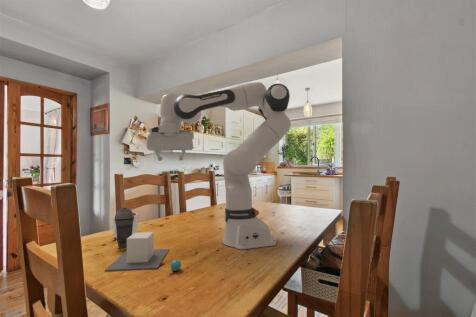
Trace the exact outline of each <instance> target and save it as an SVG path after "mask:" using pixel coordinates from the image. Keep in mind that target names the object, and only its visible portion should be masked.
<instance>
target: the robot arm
mask: <svg viewBox="0 0 476 317" xmlns="http://www.w3.org/2000/svg"><path fill="white" fill-rule="evenodd" d="M289 102H290V90H289V88H288V87H287V86H286V85H284V84H282V83H273V84H271V85H270V86H269V87H268V88H267V87H266V86H265V84H263V82H260V81H256V82H255V81H254V82H248V83H243V84H240V85H235V86H233V87H230V88H226V89H223V90H218V91H213V92H209V93H203V94H196V95H194V94H187V93H185V94H181V95H179V94H178V93H173V92H171V93H166V94H165V95H163V96H162V97H161V99H160V106H159V108H160V110H159V113H160V114H159V115H160V123H159V125H156V126H152V127H149V129H148V131H149V134H148V136H147V138H146V139H147V140H146V149H147V150H148V151H154V153H155V155H156V157H157V161H163V156H160V154H159V153H160V151H181V153H182V154H181V155H179V156H178V157H179V161H184V156H185V155H186V151H192V150H194V140H193V139H194V137H195V135H194V132H193V131H192V130H191V129H181V123H185V124H196V123H197V122H198V121H199V120H201V115H202V111H207V110H210V109H215V108H219V107H221V108H222V107H224V108H226V109H229V110H231V111H237V112H238V111H243V110H246V109H250V108H253V107H258V108H257V110H258V111H259V113H260V114H261V116H262V118H263V119H264V121H263V122H262V123H260V125H258V127H256V128H255V129H254V130H253V131H252V132H251V133H250V134H249V135H248V136H247V137H246V138H245V139H244V140H243V141H242V143H241V144H239V145H238V147H236V148H235V149H234V150H232V151H229V152H227V153H226V154H225V156H224V157H223V161H222V167H223V179H224V186H225V208H224V221H225V227H224V234H223V238H222V244H224V245H225V246H228V247H232V248H235V249H237V250H247V249H248V250H249V249H256V248H257V249H258V248H265V247H272V246H275V245H276V244H277V239H276V237H275V236H274V235H272V233H271V229H270V226H269V225H268V224H267V223H266V222H264V221H263V220H262V219H261V218H260V217H258V216H259V214H260V211H259V210H258V209H256V208H254V207H253V198H252V197H253V196H252V195H253V194H252V193H253V191H252V187H251V184H250V182H251V181H250V178H249V177H250V176H249V175H251V173H252V172H253V171H254V170H255V169H256V167H257V166H258V165H259V164H260V162H261V161H262V160H263V158H265V156H266V155H267V154H268V153H269V152H270V151H271V150H272V149H273V148H275V146H276V145H277V144H278V143H279V142H280V141H281V140H282V139H283V138H284V137H285V135H286V134H287V133H288V131H289V130H290V128H291V124H292V123H291V120H290V118H289V117H288V115H287V114H286V111H287V109H288V105H289V104H290V103H289Z"/></svg>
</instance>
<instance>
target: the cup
mask: <svg viewBox="0 0 476 317" xmlns="http://www.w3.org/2000/svg"><path fill="white" fill-rule="evenodd" d="M133 214H134V221H133V227H132V234H133V233H139V231H138V228H139V226H138V217H139V216H138V213H136V212H133ZM114 219H115V215H113V237H114V239H116V240H117V231H116V224H115V220H114Z"/></svg>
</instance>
